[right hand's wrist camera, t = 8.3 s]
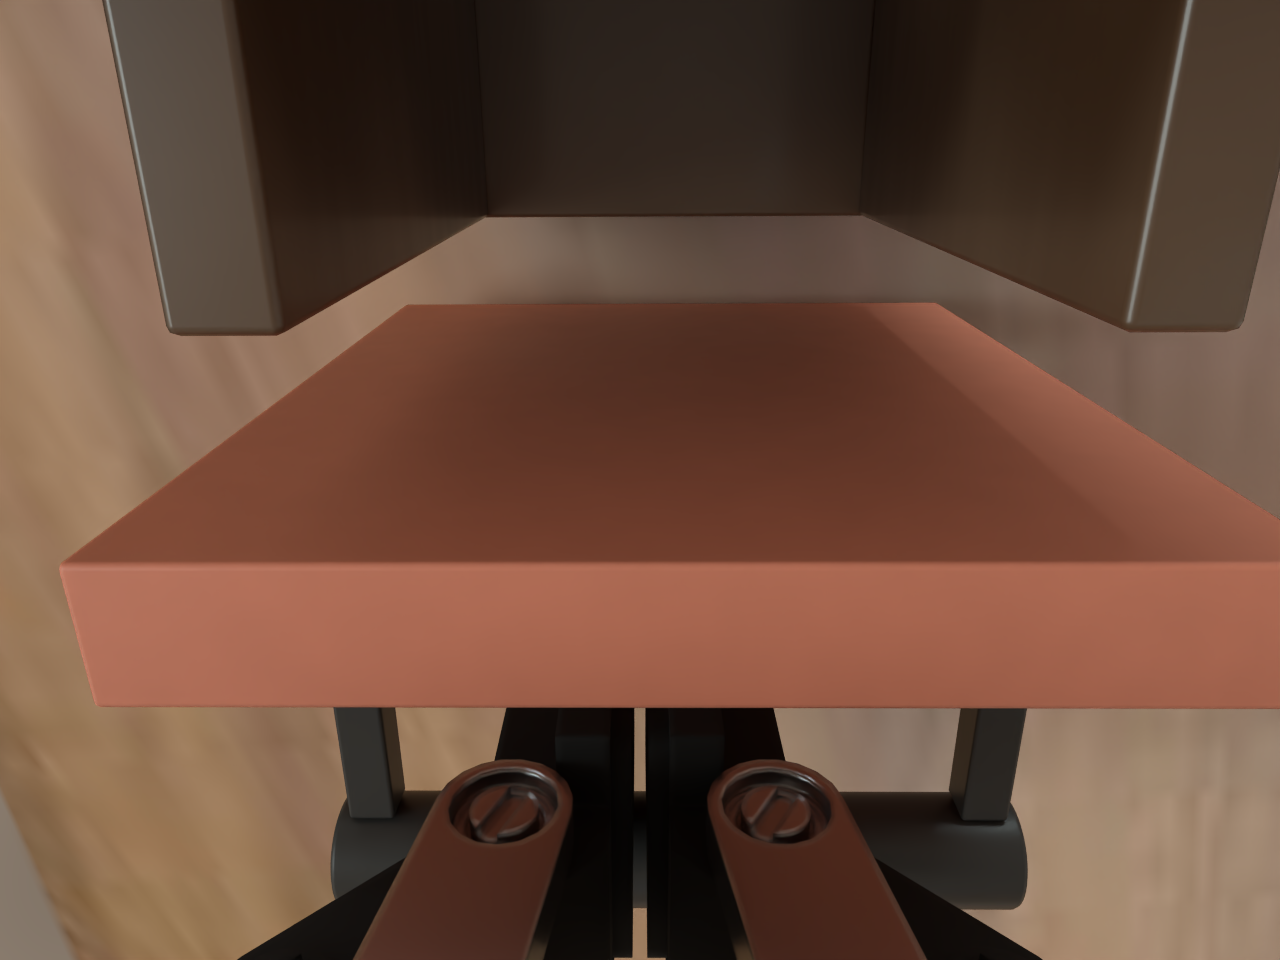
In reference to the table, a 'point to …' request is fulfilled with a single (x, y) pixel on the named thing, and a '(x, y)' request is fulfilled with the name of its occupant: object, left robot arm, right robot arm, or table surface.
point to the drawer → (694, 382)
